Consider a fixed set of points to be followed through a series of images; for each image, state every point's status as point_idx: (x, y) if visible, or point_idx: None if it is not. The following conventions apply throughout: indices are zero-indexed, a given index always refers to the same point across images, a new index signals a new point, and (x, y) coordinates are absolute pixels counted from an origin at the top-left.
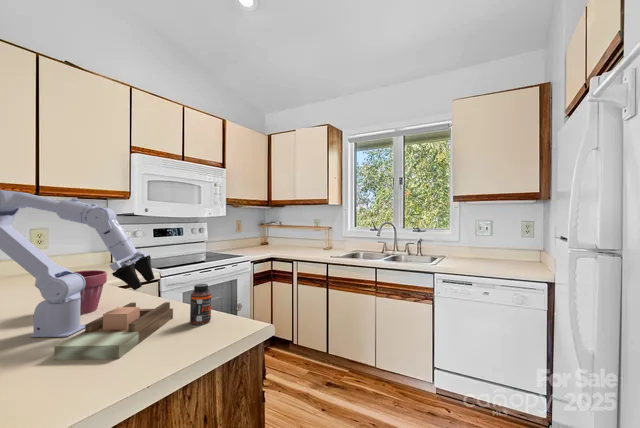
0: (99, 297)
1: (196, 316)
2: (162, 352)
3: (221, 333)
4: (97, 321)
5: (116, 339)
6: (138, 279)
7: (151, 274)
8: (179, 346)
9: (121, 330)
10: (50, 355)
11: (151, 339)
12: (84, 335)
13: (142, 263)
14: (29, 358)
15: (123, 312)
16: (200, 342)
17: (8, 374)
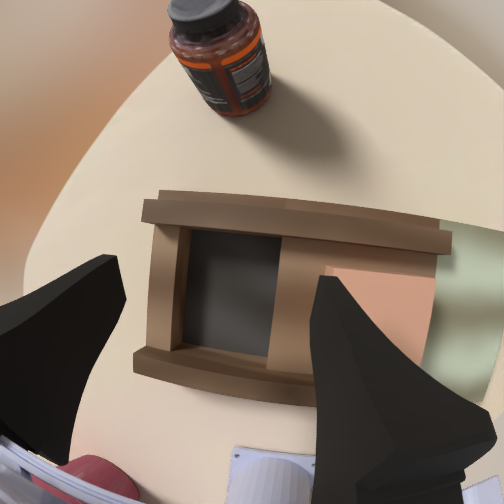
0: (73, 466)
1: (268, 76)
2: (468, 141)
3: (347, 27)
4: None
5: (484, 263)
6: (347, 307)
7: (94, 276)
8: (436, 107)
9: None
10: None
11: (392, 195)
12: None
13: (26, 388)
14: None
15: (416, 305)
16: (409, 65)
17: (494, 416)
